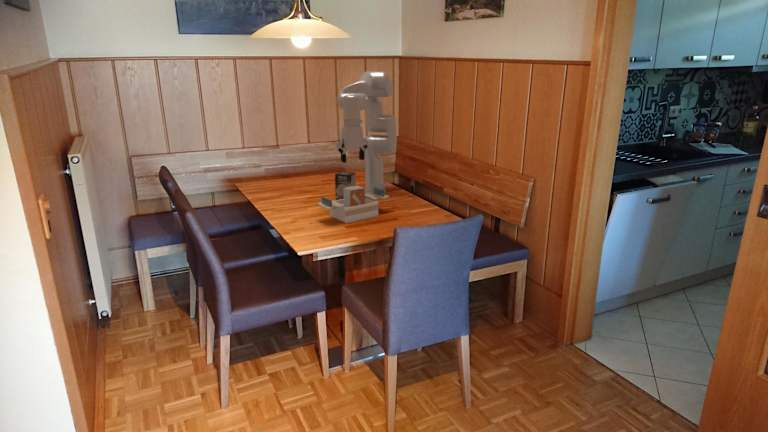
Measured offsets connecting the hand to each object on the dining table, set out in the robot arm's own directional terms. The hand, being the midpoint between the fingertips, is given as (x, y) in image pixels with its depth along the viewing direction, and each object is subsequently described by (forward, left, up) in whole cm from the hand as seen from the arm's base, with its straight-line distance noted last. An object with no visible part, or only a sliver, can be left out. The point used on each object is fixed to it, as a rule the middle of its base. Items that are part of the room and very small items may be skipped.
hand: (352, 161), depth 233 cm
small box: (0, 0, -26) cm, 26 cm away
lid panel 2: (-13, 0, -19) cm, 23 cm away
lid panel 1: (+13, 0, -19) cm, 23 cm away
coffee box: (-8, -20, -26) cm, 34 cm away
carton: (0, 0, -26) cm, 26 cm away
